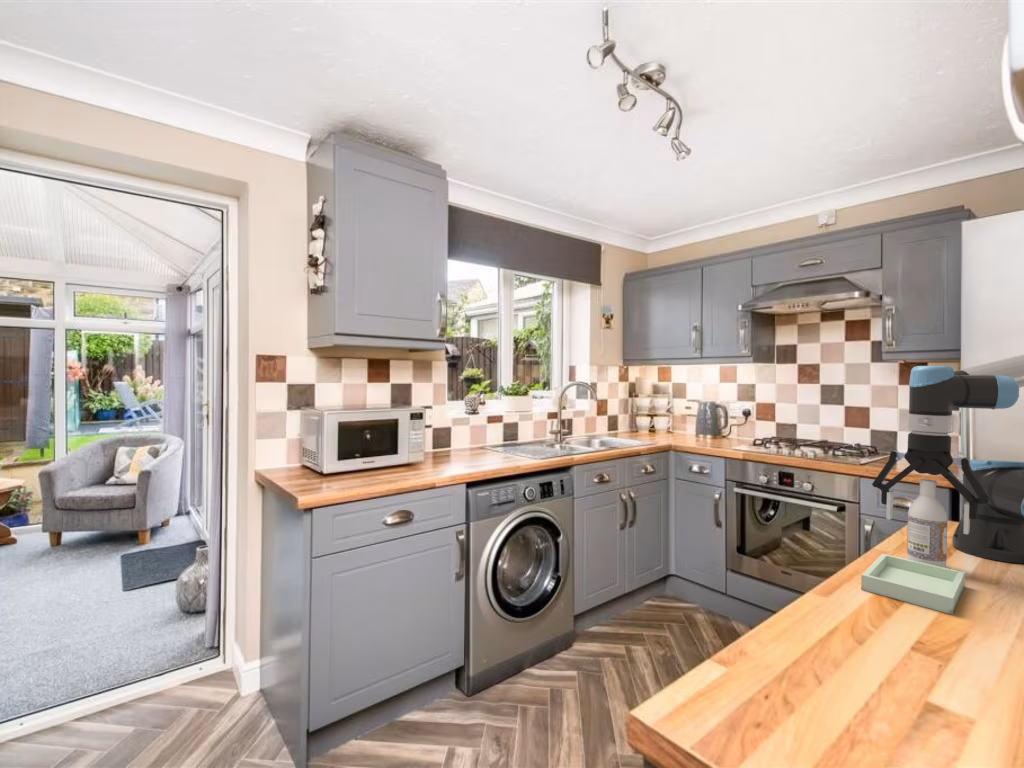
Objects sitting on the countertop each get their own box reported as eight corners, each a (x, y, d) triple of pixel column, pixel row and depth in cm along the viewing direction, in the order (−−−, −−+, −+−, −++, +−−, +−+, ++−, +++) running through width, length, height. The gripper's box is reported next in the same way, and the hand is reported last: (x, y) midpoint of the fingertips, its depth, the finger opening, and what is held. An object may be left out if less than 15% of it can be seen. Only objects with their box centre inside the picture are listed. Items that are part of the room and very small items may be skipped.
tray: (881, 566, 112) (882, 553, 112) (964, 586, 102) (964, 572, 102) (861, 589, 100) (861, 574, 100) (952, 614, 90) (953, 598, 90)
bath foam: (944, 575, 107) (946, 485, 107) (904, 566, 112) (906, 480, 112) (947, 567, 112) (950, 480, 112) (909, 558, 117) (911, 475, 117)
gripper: (859, 429, 118) (856, 516, 119) (1005, 440, 100) (1001, 543, 100) (867, 427, 123) (864, 510, 124) (1007, 437, 105) (1004, 535, 105)
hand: (926, 525), depth 112 cm, fingers open, 13 cm apart
